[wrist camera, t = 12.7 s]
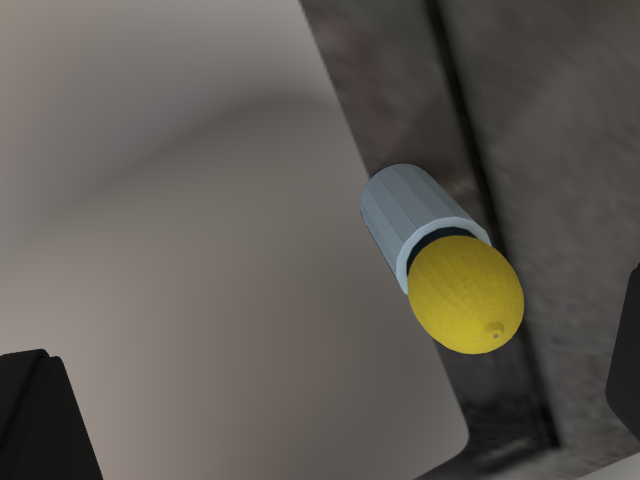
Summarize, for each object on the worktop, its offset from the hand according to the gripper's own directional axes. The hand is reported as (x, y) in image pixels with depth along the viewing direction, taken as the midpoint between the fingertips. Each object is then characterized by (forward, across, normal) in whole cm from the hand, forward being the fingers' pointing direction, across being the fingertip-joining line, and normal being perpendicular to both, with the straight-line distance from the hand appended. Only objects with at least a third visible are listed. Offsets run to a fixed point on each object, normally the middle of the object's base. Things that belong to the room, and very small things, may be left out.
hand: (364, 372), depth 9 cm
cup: (+28, -9, +10) cm, 31 cm away
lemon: (+21, -9, +10) cm, 25 cm away
